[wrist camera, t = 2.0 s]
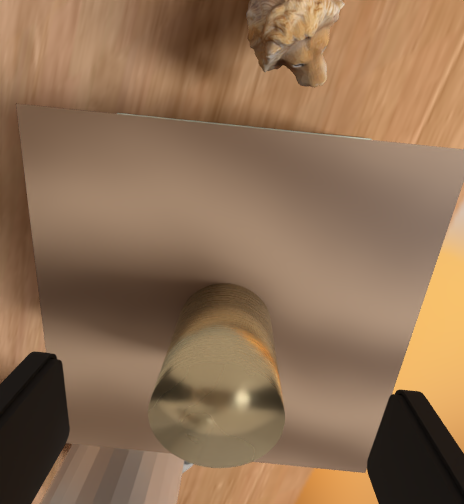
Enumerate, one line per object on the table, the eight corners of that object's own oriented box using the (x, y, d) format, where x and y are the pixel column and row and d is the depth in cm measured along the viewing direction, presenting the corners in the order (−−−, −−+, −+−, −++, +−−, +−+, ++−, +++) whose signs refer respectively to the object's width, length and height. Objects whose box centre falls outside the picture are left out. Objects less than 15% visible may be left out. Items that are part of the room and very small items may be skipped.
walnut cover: (319, 347, 27) (412, 602, 12) (126, 328, 27) (-15, 560, 12) (366, 143, 21) (636, 161, 7) (121, 118, 21) (-145, 81, 7)
